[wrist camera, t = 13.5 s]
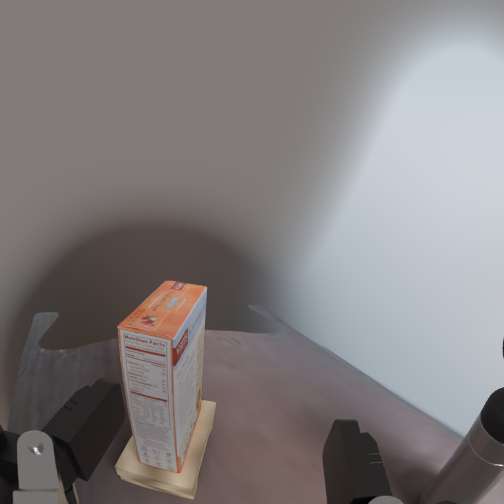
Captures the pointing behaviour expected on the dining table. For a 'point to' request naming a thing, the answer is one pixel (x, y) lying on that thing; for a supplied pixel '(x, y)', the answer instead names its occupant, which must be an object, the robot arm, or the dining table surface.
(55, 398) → the dining table surface
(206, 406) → the birch stand
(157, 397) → the cracker box
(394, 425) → the dining table surface
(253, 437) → the dining table surface
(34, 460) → the robot arm
